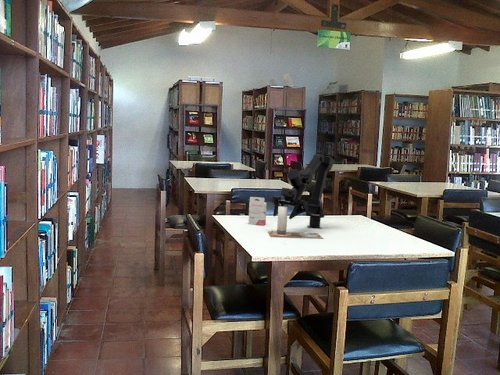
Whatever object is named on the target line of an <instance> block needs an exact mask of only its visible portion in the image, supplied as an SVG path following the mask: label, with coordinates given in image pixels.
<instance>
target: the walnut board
mask: <svg viewBox="0 0 500 375" xmlns="http://www.w3.org/2000/svg"><path fill="white" fill-rule="evenodd" d="M274 232H275V231H267V233H268V235H269V237H270V238H284V239H287V238H289V239H314V240H315V239H317V240H324V237H322V236H321V235H320V234H319V233H318V232H317V233H316V232H312V233H313V234H317V235H318V237H314V238H310V237H302V236H299V234H300V233H301V232H291V231H289V232H287V231H286V233H290V234H291V236H288V237H280V236H274V235H272V233H274Z"/></svg>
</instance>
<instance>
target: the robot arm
mask: <svg viewBox="0 0 500 375" xmlns="http://www.w3.org/2000/svg"><path fill="white" fill-rule="evenodd" d="M334 163H335V161H334V158H333V157H332V156H326V155H324V154H318V153H316V154H314V155H313V157H312V159H311V160H310V161H309V163H308V164H307V165H306V167H305V168H303V169H300V170H299V169H298V168H294V169H292V170H291V171H289V172H288V173H287V174H286V177H287V180H288V182H289V184H290V186H291V187H292V188H289V187H288V188H287V187H282V188H281V191H280V195H282V196H283V199H282V197H281V196H276V195H275V196H272V198H271V199H270V201H271V202H272V204H273V205H274V208H273V214H272V215H273V217H276V216H278V206H289V207H293V209H292V211H291V213H290V214H289V216H288V219H289V220H292V219H294V218H295V217H297V216H299V215H301V214H304V213H305V216H306V217H309V222H308V224H309V225H307V227H308V228H309V229H318V230H319V229H320V230H321V229H322V228H323V227H321V219H322V218H325V215H326V212H325V210H324V208H323V207H324V204H323V200H322V197H323V193H324V188H325V183H326V180H327V176H328V173H329V172H331V171H332V168H333V165H334ZM317 170H318V171H317ZM316 171H317V174H316V180H315V184H314V188H313V191H312V196H311V197H310V198H307V200H306V201H307V202H306V201H305V200H303V199H302V196H303V194H304V193H307V192H308V190H307V186H306V185H311V183H312V181H313V179H314V177H313V176H314V173H315V172H316Z"/></svg>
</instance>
